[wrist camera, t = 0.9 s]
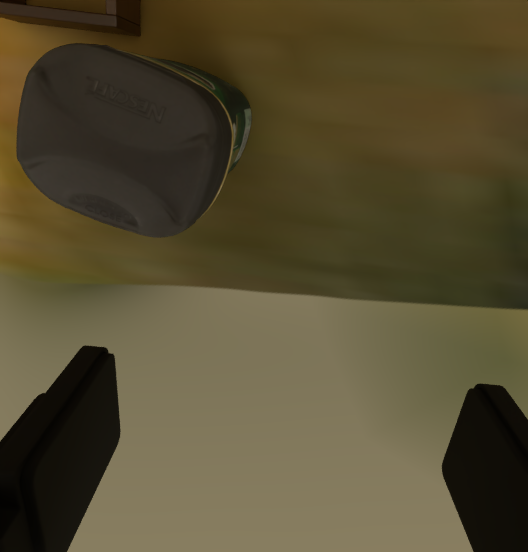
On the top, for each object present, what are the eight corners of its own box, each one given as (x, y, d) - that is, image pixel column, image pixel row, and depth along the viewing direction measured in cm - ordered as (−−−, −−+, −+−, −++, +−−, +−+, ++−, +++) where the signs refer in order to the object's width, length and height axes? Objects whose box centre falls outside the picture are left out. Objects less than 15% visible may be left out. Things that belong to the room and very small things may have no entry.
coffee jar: (126, 146, 36) (-18, 197, 19) (149, 47, 33) (1, 1, 16) (233, 188, 37) (188, 271, 20) (265, 96, 34) (245, 101, 17)
